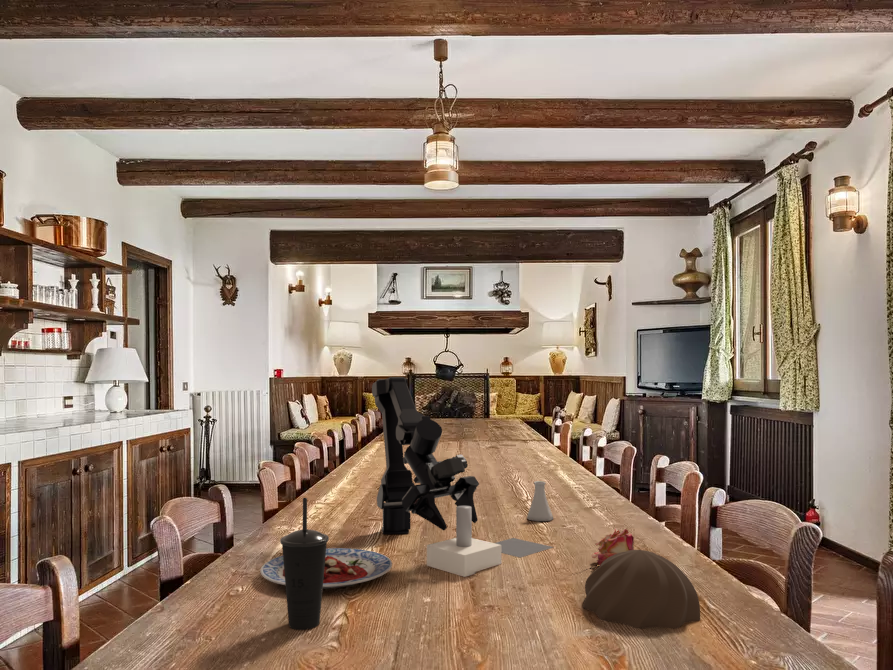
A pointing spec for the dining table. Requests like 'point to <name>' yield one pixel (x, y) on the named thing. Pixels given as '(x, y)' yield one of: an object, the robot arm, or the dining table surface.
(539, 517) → the flask
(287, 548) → the drinking cup
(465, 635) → the dining table surface
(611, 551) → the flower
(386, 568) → the ceramic plate
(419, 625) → the dining table surface
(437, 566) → the cream bowl cover
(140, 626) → the dining table surface
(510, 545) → the charcoal rubber mat
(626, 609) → the decorative dome
